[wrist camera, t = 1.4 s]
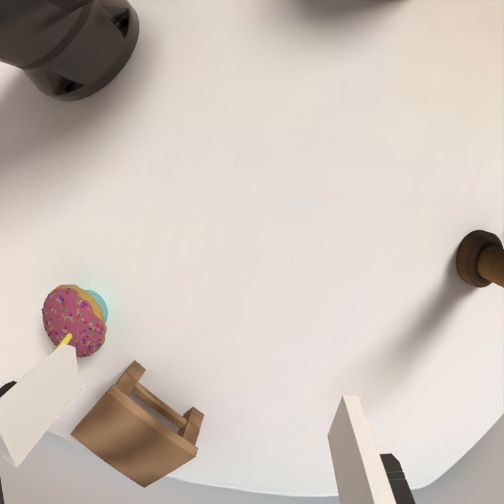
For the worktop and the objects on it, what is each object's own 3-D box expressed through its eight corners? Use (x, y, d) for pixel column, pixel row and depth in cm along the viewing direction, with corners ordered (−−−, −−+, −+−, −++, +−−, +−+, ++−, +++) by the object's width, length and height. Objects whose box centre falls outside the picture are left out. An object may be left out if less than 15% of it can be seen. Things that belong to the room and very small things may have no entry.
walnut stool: (95, 401, 39) (70, 434, 31) (134, 357, 37) (107, 391, 29) (159, 450, 40) (144, 487, 32) (207, 414, 38) (195, 456, 30)
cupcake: (129, 296, 35) (76, 340, 23) (111, 351, 37) (64, 403, 25) (72, 263, 35) (8, 292, 23) (59, 318, 37) (4, 357, 25)
